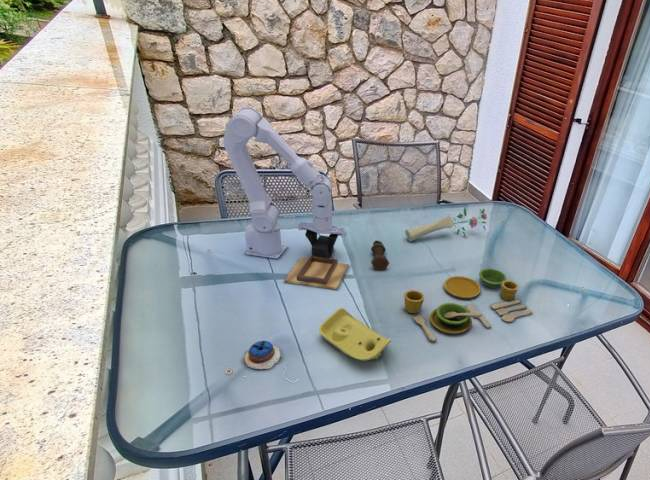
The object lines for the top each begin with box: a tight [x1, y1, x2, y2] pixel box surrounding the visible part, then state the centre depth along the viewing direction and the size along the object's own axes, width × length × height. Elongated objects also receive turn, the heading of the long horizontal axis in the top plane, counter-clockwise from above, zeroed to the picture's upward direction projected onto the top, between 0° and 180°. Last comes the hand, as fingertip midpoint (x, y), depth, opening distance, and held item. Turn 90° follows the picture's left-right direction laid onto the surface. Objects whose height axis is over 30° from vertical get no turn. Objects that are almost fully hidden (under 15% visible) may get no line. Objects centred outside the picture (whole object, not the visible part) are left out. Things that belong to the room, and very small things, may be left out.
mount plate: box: [284, 255, 349, 290], centre depth 133 cm, size 15×14×2 cm
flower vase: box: [404, 207, 488, 243], centre depth 173 cm, size 12×12×35 cm
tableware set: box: [403, 268, 533, 343], centre depth 137 cm, size 41×28×6 cm
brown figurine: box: [370, 240, 390, 271], centre depth 148 cm, size 6×5×15 cm
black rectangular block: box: [311, 234, 335, 258], centre depth 142 cm, size 4×9×5 cm, turn 4°
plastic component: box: [318, 307, 392, 361], centre depth 110 cm, size 20×7×10 cm
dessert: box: [244, 340, 281, 370], centre depth 101 cm, size 8×7×6 cm
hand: (323, 251), depth 143 cm, fingers closed on black rectangular block, 4 cm apart
